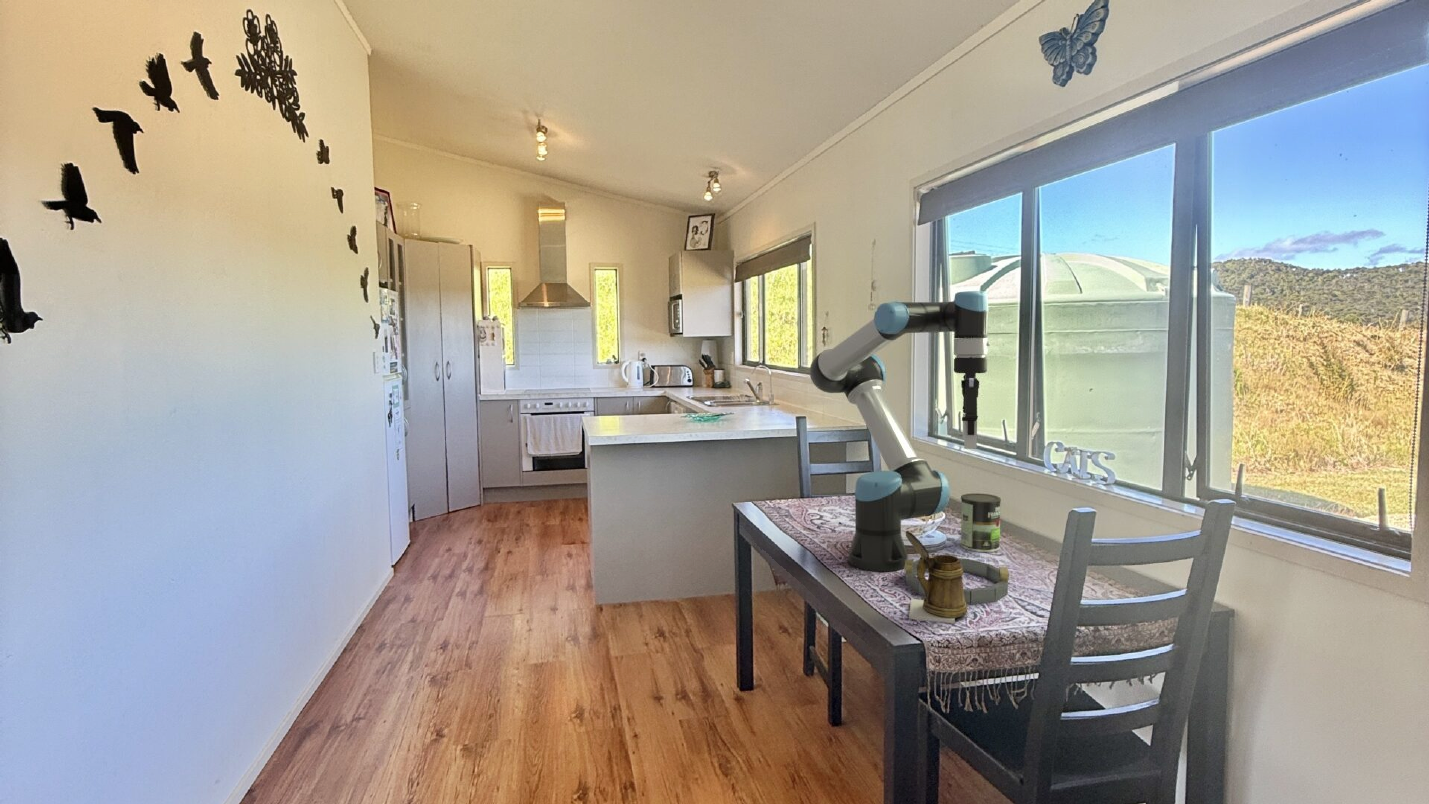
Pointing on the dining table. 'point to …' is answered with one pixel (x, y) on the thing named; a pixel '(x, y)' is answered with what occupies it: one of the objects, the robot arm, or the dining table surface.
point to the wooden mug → (940, 582)
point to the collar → (968, 566)
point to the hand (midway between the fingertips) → (969, 444)
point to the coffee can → (980, 522)
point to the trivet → (925, 613)
